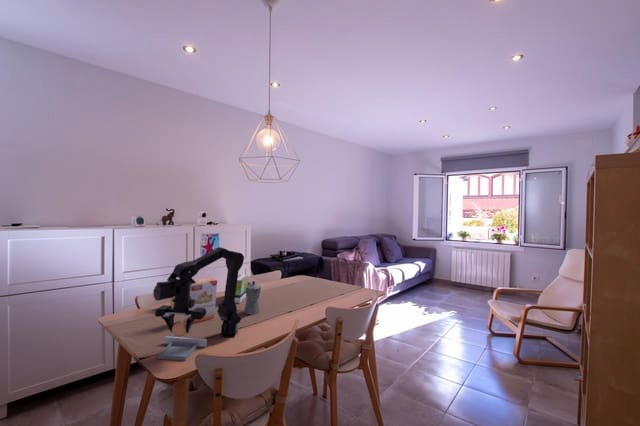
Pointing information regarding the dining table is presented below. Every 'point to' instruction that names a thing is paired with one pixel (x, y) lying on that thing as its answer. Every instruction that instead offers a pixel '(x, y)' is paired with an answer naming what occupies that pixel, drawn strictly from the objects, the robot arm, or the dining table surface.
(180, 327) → the ball
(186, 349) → the grey square tray
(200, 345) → the wall
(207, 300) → the cracker box
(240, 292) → the tea box
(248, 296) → the coffeepot
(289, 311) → the dining table surface
